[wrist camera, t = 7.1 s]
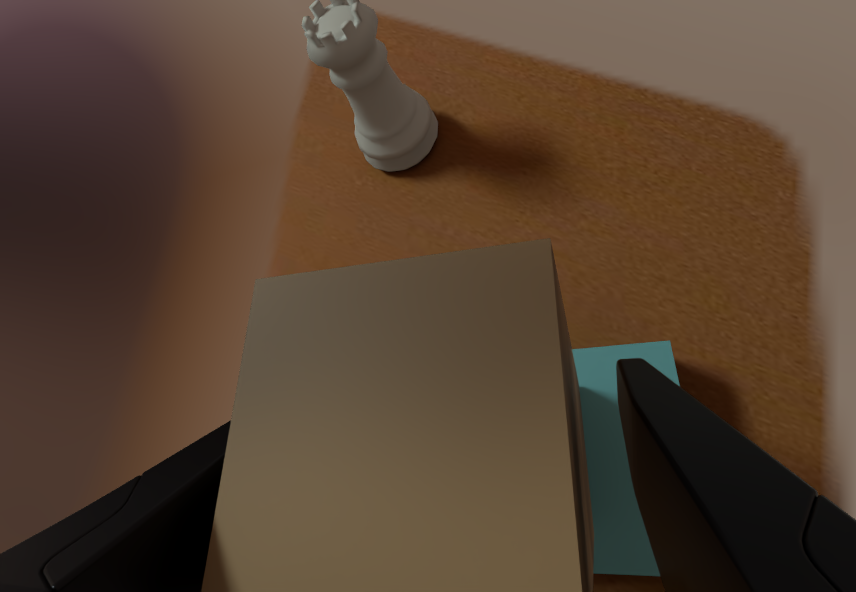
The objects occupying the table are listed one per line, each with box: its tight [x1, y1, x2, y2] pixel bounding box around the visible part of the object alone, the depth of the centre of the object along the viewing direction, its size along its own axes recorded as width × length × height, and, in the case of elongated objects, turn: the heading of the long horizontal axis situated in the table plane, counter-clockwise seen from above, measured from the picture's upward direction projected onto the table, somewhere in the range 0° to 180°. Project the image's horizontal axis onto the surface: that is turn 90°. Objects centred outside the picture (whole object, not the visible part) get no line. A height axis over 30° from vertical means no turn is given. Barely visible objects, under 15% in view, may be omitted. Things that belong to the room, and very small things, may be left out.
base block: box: [572, 341, 680, 576], centre depth 16 cm, size 7×11×2 cm, turn 92°
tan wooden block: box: [201, 238, 594, 592], centre depth 10 cm, size 5×5×11 cm
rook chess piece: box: [302, 0, 438, 171], centre depth 21 cm, size 4×4×8 cm
